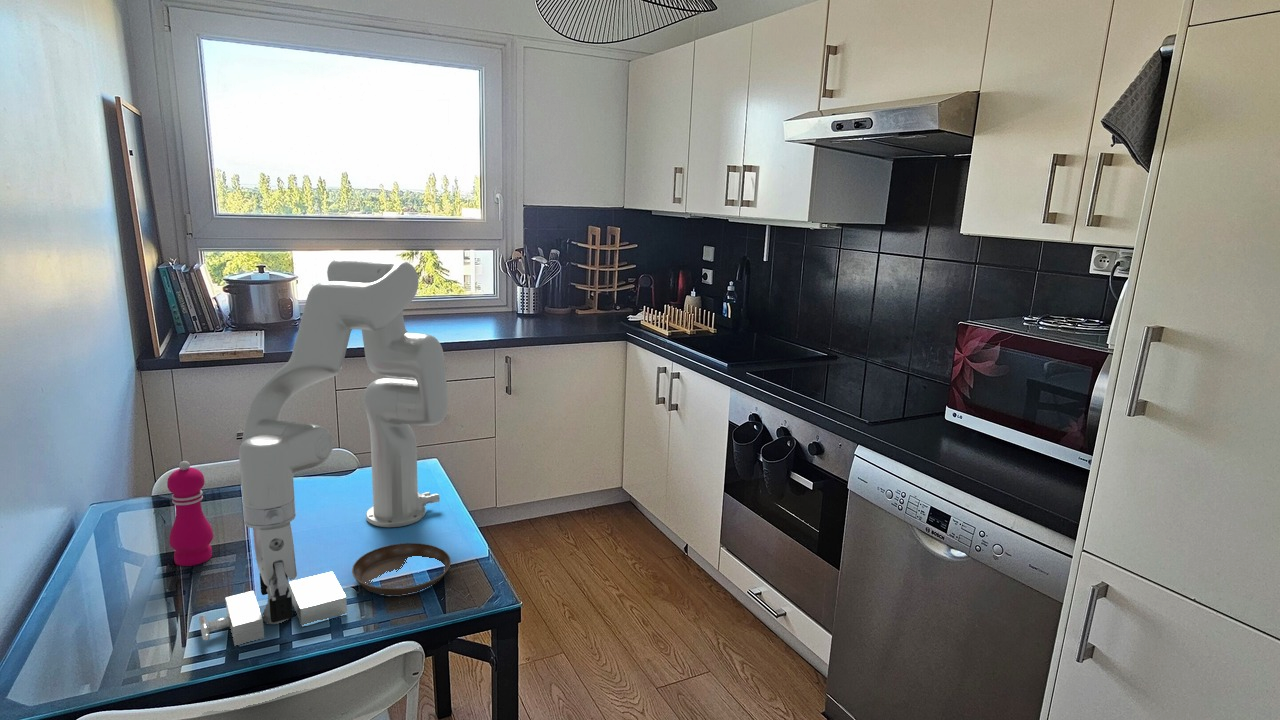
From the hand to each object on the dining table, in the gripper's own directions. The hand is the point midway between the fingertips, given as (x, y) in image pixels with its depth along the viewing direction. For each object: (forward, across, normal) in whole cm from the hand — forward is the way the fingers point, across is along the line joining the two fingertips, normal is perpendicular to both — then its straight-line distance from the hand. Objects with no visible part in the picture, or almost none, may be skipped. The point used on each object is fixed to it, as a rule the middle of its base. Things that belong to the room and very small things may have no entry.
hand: (276, 605), depth 123 cm
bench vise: (+2, 0, 0) cm, 2 cm away
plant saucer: (+3, +3, -22) cm, 22 cm away
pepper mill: (+3, +30, +10) cm, 32 cm away
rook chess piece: (+3, 0, 0) cm, 3 cm away
